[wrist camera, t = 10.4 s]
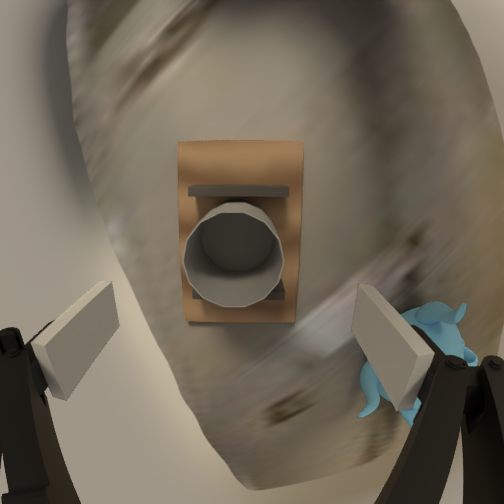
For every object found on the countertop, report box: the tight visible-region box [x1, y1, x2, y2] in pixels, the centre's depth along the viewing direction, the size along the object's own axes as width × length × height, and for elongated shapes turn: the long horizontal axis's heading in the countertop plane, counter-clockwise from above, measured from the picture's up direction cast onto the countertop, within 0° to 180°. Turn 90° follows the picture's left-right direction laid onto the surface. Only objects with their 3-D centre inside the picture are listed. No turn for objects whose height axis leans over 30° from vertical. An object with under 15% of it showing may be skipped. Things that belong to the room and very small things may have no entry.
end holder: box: [178, 140, 303, 323], centre depth 32 cm, size 22×14×5 cm, turn 179°
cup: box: [182, 200, 285, 307], centre depth 29 cm, size 8×8×10 cm
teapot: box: [358, 301, 478, 428], centre depth 34 cm, size 17×19×12 cm
